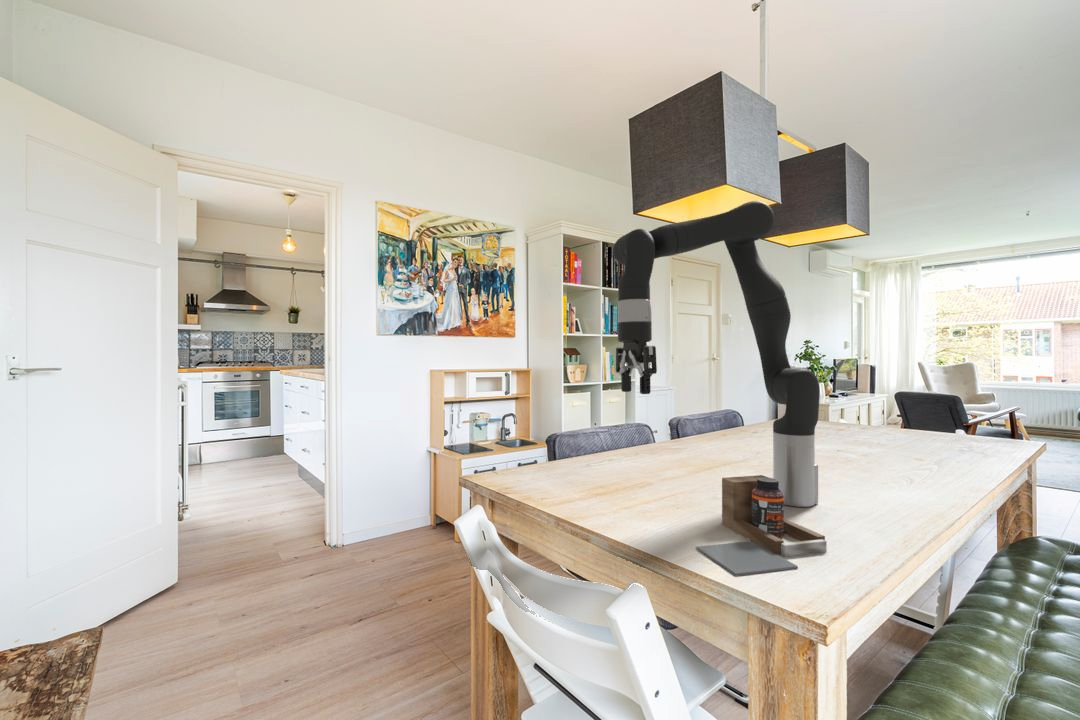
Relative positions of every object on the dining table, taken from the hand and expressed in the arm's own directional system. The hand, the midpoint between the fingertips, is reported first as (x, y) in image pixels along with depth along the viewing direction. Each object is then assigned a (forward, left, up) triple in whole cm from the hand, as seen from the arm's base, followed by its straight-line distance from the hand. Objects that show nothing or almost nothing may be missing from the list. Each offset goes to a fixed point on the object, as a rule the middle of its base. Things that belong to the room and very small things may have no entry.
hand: (635, 392), depth 111 cm
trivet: (-9, +26, -28) cm, 39 cm away
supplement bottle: (-21, +17, -28) cm, 39 cm away
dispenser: (-21, +18, -28) cm, 39 cm away
